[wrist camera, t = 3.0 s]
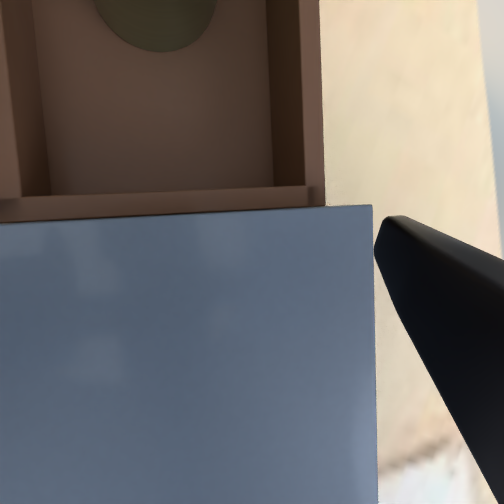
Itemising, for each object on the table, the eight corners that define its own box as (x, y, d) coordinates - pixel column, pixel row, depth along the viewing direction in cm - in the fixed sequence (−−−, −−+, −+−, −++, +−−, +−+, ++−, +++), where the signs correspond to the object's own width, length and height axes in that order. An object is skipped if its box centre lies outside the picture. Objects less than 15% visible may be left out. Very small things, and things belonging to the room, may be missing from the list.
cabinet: (13, 222, 18) (-70, 227, 11) (302, 206, 21) (373, 204, 14) (50, 543, 20) (-4, 717, 13) (312, 486, 23) (380, 602, 16)
